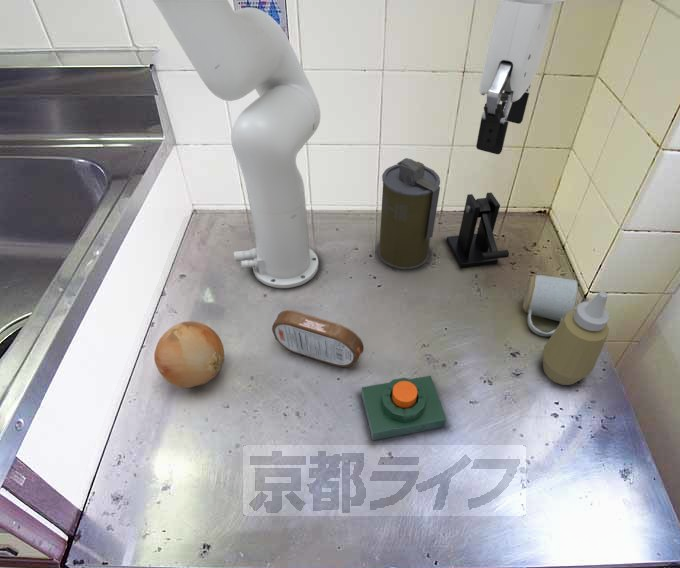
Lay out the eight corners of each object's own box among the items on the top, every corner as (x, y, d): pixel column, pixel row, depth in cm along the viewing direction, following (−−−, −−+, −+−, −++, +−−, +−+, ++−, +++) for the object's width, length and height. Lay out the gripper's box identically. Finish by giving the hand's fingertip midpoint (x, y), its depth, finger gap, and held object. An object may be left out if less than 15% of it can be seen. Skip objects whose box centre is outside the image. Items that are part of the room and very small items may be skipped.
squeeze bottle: (587, 396, 75) (638, 320, 62) (536, 386, 76) (575, 309, 63) (583, 357, 81) (629, 280, 68) (535, 348, 82) (571, 270, 68)
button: (395, 410, 68) (396, 403, 66) (389, 389, 70) (390, 382, 69) (419, 405, 68) (420, 399, 67) (412, 385, 71) (413, 379, 69)
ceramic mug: (522, 293, 91) (533, 263, 85) (565, 302, 90) (579, 272, 84) (518, 333, 84) (530, 303, 78) (564, 343, 83) (580, 314, 77)
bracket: (496, 264, 96) (512, 211, 87) (460, 268, 95) (472, 215, 85) (480, 237, 102) (494, 185, 93) (446, 241, 101) (456, 188, 91)
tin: (363, 361, 78) (365, 328, 72) (356, 376, 76) (357, 343, 70) (281, 336, 81) (275, 301, 74) (272, 349, 78) (266, 315, 72)
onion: (216, 404, 71) (200, 364, 63) (153, 394, 72) (130, 353, 64) (239, 355, 77) (227, 313, 70) (181, 345, 78) (164, 303, 71)
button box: (372, 440, 68) (373, 426, 65) (361, 395, 73) (362, 380, 70) (444, 427, 70) (448, 413, 67) (428, 383, 76) (431, 368, 73)
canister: (367, 253, 96) (370, 163, 82) (399, 231, 102) (408, 143, 87) (408, 278, 92) (420, 188, 77) (440, 253, 98) (456, 165, 83)
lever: (505, 259, 89) (510, 254, 87) (481, 262, 88) (485, 257, 86) (489, 203, 92) (494, 196, 90) (465, 205, 91) (469, 199, 89)
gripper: (521, -41, 56) (492, 105, 69) (474, -10, 45) (449, 156, 58) (585, -32, 54) (543, 116, 67) (551, 3, 43) (509, 172, 56)
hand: (499, 135), depth 62 cm, fingers open, 9 cm apart
